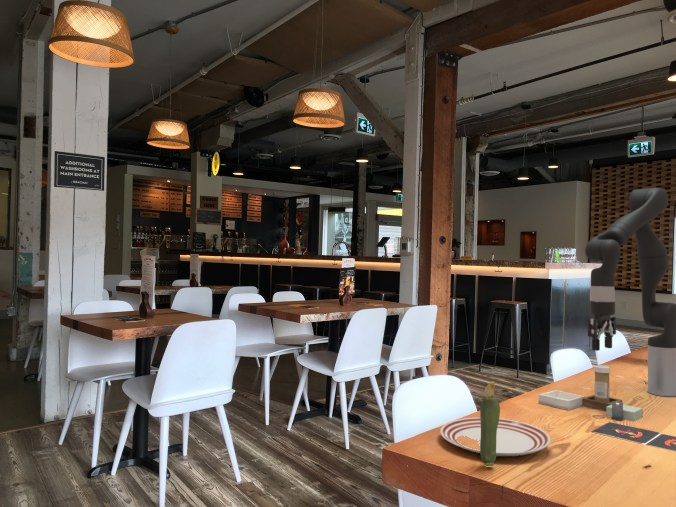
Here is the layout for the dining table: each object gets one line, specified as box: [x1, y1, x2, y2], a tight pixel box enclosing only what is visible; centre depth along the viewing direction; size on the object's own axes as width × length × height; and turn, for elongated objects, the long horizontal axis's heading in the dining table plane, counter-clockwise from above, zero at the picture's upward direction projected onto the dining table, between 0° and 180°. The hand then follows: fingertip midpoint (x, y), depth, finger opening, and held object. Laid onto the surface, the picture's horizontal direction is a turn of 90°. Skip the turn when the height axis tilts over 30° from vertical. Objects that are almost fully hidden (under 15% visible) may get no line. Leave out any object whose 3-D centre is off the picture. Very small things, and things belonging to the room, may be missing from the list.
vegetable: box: [479, 380, 501, 467], centre depth 122 cm, size 4×4×20 cm
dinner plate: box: [439, 416, 551, 457], centre depth 138 cm, size 28×27×3 cm
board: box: [605, 404, 644, 422], centre depth 164 cm, size 7×8×3 cm
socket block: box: [581, 394, 623, 412], centre depth 174 cm, size 9×9×2 cm
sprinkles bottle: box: [593, 364, 611, 403], centre depth 174 cm, size 5×5×13 cm
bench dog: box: [611, 401, 624, 422], centre depth 161 cm, size 3×3×5 cm
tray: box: [538, 389, 586, 411], centre depth 177 cm, size 10×10×3 cm
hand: (602, 349), depth 175 cm, fingers open, 8 cm apart
